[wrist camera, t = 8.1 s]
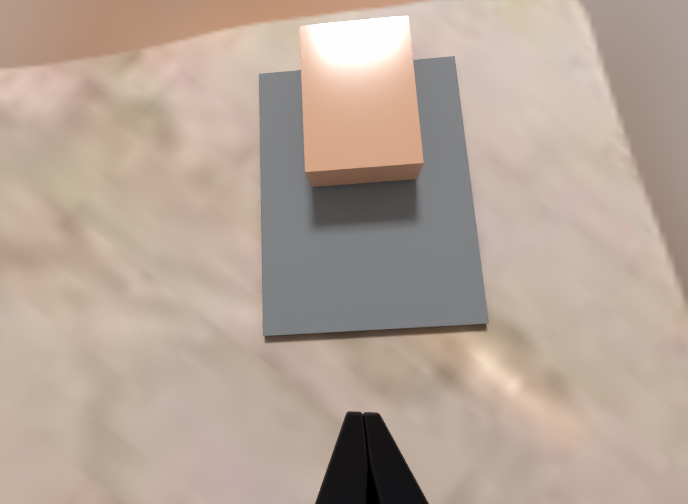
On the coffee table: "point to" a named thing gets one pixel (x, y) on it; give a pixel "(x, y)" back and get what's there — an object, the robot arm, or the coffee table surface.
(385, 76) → the peach rectangular block
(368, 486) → the robot arm
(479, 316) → the mat
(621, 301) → the coffee table surface
